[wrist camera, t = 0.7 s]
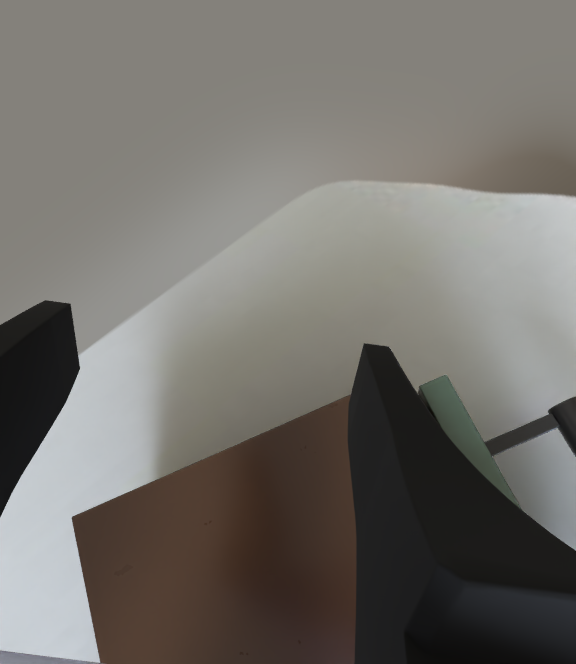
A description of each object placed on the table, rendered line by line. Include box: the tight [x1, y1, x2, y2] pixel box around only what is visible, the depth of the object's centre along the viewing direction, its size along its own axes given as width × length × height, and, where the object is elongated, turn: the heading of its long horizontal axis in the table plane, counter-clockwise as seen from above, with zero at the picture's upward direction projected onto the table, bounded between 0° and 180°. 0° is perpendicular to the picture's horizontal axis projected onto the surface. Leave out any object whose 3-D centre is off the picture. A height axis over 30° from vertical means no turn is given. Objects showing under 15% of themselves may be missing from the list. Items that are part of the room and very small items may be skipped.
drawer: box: [418, 375, 576, 509], centre depth 22 cm, size 18×12×6 cm, turn 112°
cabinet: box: [72, 395, 356, 664], centre depth 22 cm, size 14×13×8 cm
